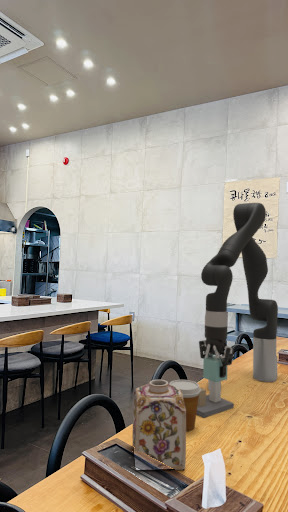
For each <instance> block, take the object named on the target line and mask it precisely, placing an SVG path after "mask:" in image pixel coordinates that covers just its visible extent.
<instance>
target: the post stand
mask: <svg viewBox="0 0 288 512" xmlns="http://www.w3.org/2000/svg"><path fill="white" fill-rule="evenodd" d="M221 384H222V381H219V382H213V381H211V380H210V390H209V393H208V394H207V390H206V389H205V388H203V387H199V388H200V389H201V392H200V394H199V398H198V405H197V412H196V416H199V417H201V418H203V419H204V418H207V417H211V416H212V415H216V414H219V413H222V412H226V411H228V410H231V409H234V407H235V403H234V402H231V401H230V400H227V399H225V398H222V397H221V394H222V392H221V391H222V389H221V388H222V385H221Z"/></svg>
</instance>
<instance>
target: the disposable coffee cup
mask: <svg viewBox="0 0 288 512" xmlns="http://www.w3.org/2000/svg"><path fill="white" fill-rule="evenodd" d="M168 384H169V385H171V386H174V387H176V388H179V389H180V390H181V392H182V394H183V398H184V399H183V400H184V402H185V407H186V432H190V431H193V430H194V429H196V428H195V426H196V418H197V414H196V412H197V405H198V398H199V394H200V392H201V389H200V388H201V387H200V385H199V383H198V382H196V381H193V380H188V379H176V380H172V381H170V382H168Z"/></svg>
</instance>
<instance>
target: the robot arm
mask: <svg viewBox="0 0 288 512" xmlns="http://www.w3.org/2000/svg"><path fill="white" fill-rule="evenodd" d="M232 214H233V222H234V226H235V229H236V230H235V232H234V233H233V234H232V235H230V236H229V237H227V239H226V240H225V241H224V242H223V244H222V245H221V247H220V249H219V250H218V252H217V253H216V255H214V256H213V257H212V258H211V259H210V260H209V261H208V262H207V263H206V264H205V265H204V266H203V268H202V270H201V273H200V274H201V275H200V278H201V280H202V283H203V284H204V285H207V286H211V287H216V289H215V290H214V292H209V293H208V294H207V295H206V297H205V313H204V314H205V315H204V338H205V339H204V340H199V341H198V346H199V355H200V359H203V360H204V358H206V357H213V356H216V357H217V359H218V360H219V364H220V375H219V376H220V377H221V378H223V377H225V376H226V366H227V365H228V366H231V365H232V364H233V358H234V354H235V353H234V352H235V351H234V350H235V347H234V346H228V345H227V339H228V297H229V293H230V289H231V287H232V283H233V272H232V267H234V265H235V264H236V262H237V261H238V259H239V257H240V255H241V258H242V266H243V271H244V277H245V281H246V287H247V297H248V310H249V316H250V317H251V319H252V320H254V321H260V322H266V325H265V326H263V327H258V328H255V329H254V330H253V335H252V338H253V340H252V341H253V342H252V343H253V345H252V351H253V352H252V353H253V354H252V358H253V359H252V378H253V379H254V380H257V381H259V382H265V383H274V382H276V381H277V379H278V356H277V334H278V333H277V332H278V331H277V330H278V315H279V314H278V313H279V310H278V309H279V308H278V307H279V306H278V303H277V301H276V300H275V299H268V298H267V299H266V298H260V297H259V290H260V288H261V285H262V284H263V283H264V281H265V279H266V278H267V275H268V271H269V267H268V260H267V256H266V254H265V252H264V251H263V249H262V248H261V247H260V246H259V244H258V243H257V242H256V240H255V239H254V238H253V237H254V236H255V234H256V233H257V232H258V231H259V230H260V228H261V227H262V226H263V225H264V222H265V221H266V217H267V210H266V208H265V206H264V204H263V203H260V202H249V203H248V202H247V203H246V202H244V203H238V204H236V205H234V208H233V213H232ZM222 360H224V362H223V361H222ZM228 366H227V367H228Z"/></svg>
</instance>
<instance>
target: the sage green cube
mask: <svg viewBox="0 0 288 512" xmlns="http://www.w3.org/2000/svg"><path fill="white" fill-rule="evenodd" d="M222 361H223V362H224V360H222ZM228 366H229V365H227V366H226V376H225V377H223V378H221V377H220V376H219V375H220V364H219V360H218V359H217V357H216V355H213V357H206V358H204V359H203V370H202V371H203V375H202V376H203V379H206V380H211V381H213V382H219V381H221V382H222V381H223V382H224V381H227V380H228Z"/></svg>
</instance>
